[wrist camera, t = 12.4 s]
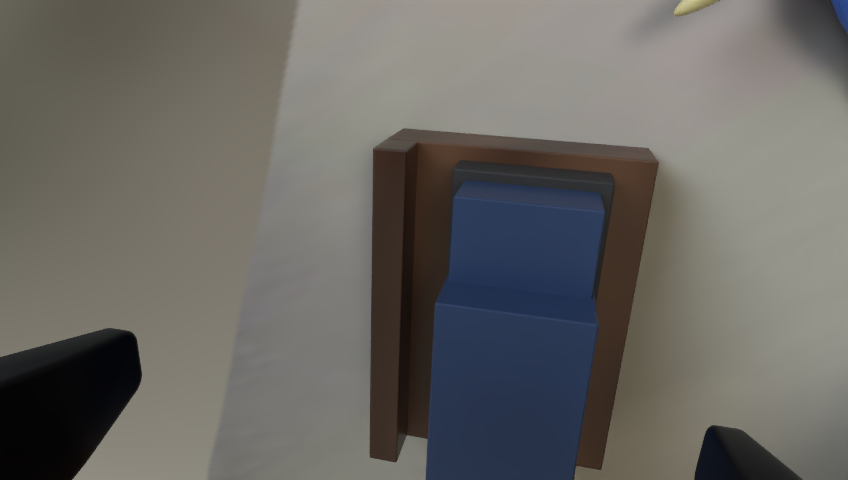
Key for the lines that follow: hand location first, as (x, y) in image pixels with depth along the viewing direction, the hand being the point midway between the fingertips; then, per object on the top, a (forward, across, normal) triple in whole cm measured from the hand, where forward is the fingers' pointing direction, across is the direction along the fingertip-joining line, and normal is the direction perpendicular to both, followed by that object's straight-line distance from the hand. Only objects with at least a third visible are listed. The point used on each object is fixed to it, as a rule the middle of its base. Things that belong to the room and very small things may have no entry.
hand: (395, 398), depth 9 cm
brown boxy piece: (+12, -1, +4) cm, 13 cm away
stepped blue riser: (+10, -2, +3) cm, 11 cm away
